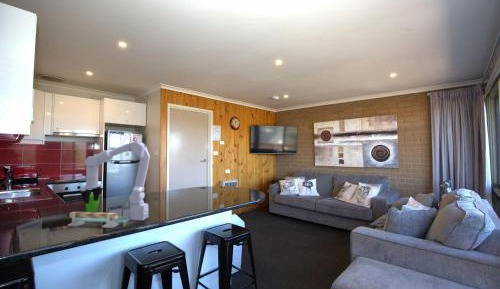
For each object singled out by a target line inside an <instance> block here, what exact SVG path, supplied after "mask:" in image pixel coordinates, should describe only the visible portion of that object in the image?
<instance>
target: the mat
mask: <svg viewBox="0 0 500 289" xmlns="http://www.w3.org/2000/svg"><path fill="white" fill-rule="evenodd" d="M129 219H130V216H119V215H118V218H116V219H115V222H116V223H119V224H125V223H127V222H129V221H130V220H129ZM82 221H85V222H86V223H104V224H106V219H98V218H82Z"/></svg>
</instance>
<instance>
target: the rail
mask: <svg viewBox="0 0 500 289" xmlns="http://www.w3.org/2000/svg"><path fill="white" fill-rule="evenodd" d="M72 214H76V218H98V219H107V215H111V219H116V218H118V216H119V213H118V212H98V211H97V212H86V211H71V212H69V218H70V219H72Z"/></svg>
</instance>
